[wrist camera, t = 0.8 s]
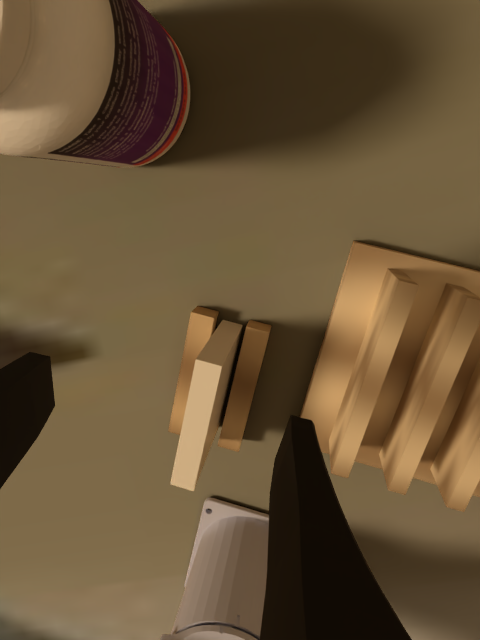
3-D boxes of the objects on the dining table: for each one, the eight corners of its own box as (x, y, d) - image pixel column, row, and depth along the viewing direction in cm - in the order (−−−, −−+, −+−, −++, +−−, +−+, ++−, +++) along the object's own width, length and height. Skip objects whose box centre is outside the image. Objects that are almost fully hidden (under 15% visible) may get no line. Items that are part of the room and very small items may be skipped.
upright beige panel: (219, 426, 31) (193, 491, 24) (200, 420, 31) (170, 484, 24) (243, 324, 28) (222, 366, 21) (222, 319, 28) (195, 359, 22)
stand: (241, 439, 31) (238, 451, 29) (174, 420, 31) (168, 431, 30) (271, 325, 28) (269, 332, 26) (197, 305, 28) (191, 312, 27)
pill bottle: (183, 3, 23) (2, -263, 10) (204, 159, 25) (81, 123, 12) (50, 32, 25) (-270, -162, 11) (81, 177, 27) (-154, 163, 13)
